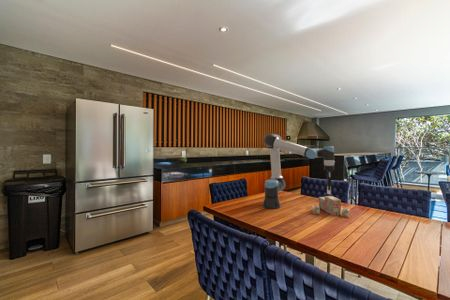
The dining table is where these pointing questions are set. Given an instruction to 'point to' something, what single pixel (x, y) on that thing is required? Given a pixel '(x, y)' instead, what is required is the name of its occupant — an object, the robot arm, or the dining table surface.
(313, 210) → the marked cube left
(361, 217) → the dining table surface
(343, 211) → the marked cube right
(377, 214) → the dining table surface
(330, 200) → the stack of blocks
